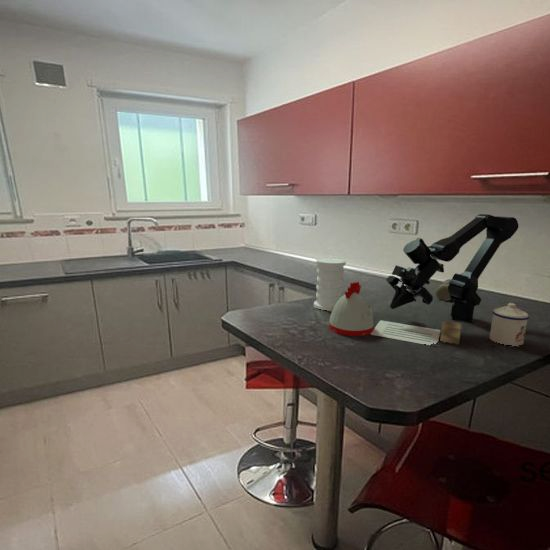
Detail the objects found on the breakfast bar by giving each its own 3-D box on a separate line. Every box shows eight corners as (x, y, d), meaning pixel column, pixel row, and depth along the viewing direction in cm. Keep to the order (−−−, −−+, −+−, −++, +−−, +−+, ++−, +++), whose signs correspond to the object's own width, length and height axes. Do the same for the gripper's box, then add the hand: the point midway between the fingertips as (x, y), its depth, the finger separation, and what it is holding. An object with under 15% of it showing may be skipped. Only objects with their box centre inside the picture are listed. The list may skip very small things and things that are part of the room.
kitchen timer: (380, 328, 118) (384, 282, 115) (358, 339, 108) (361, 290, 105) (344, 318, 127) (346, 276, 124) (320, 327, 117) (322, 282, 114)
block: (459, 339, 110) (461, 323, 109) (458, 345, 106) (460, 328, 105) (441, 336, 112) (443, 320, 111) (440, 341, 108) (441, 325, 107)
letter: (440, 330, 117) (440, 330, 117) (436, 346, 104) (437, 346, 104) (380, 320, 126) (380, 320, 125) (370, 334, 112) (370, 334, 112)
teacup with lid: (522, 350, 103) (528, 310, 100) (485, 341, 108) (491, 304, 106) (527, 338, 112) (533, 301, 109) (493, 330, 117) (498, 296, 115)
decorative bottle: (453, 303, 149) (455, 287, 148) (434, 300, 153) (435, 284, 152) (462, 290, 170) (463, 276, 169) (444, 288, 174) (446, 274, 173)
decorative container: (350, 308, 139) (353, 261, 135) (326, 313, 133) (329, 264, 129) (330, 300, 148) (332, 257, 145) (307, 304, 142) (309, 259, 139)
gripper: (392, 252, 126) (362, 285, 126) (428, 262, 109) (393, 300, 108) (410, 273, 130) (381, 305, 130) (447, 285, 113) (414, 323, 112)
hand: (391, 308), depth 120 cm, fingers closed
